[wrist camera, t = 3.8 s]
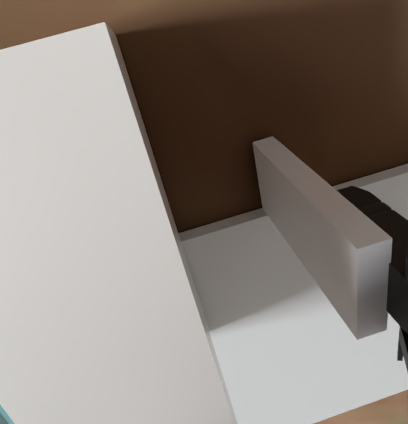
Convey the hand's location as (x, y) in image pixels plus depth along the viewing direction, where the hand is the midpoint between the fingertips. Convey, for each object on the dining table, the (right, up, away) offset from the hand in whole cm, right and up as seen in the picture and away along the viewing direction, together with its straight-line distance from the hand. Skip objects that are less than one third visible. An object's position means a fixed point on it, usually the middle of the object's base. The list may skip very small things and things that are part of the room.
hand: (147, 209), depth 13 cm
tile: (0, -1, 0) cm, 1 cm away
